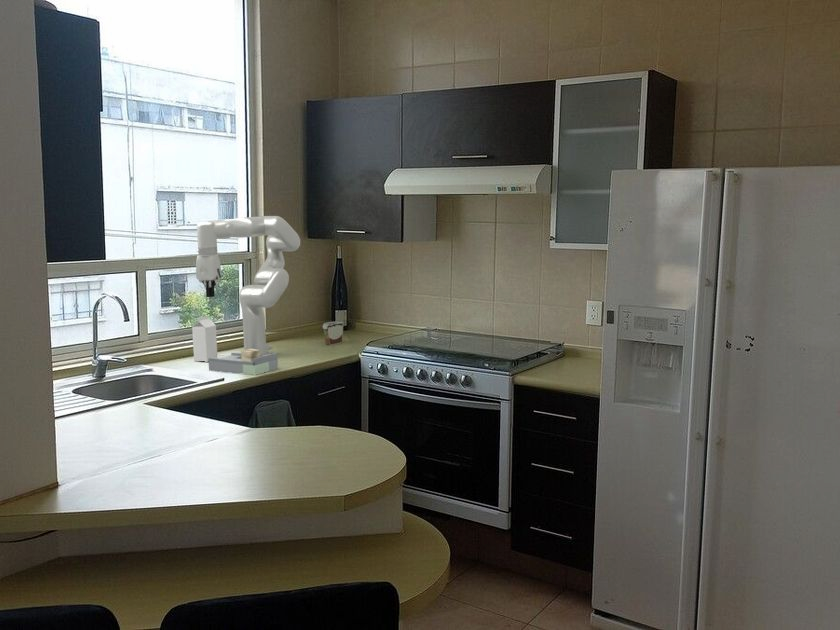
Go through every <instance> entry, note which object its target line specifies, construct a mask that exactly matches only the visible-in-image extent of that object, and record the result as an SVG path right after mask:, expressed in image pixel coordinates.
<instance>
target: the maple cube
mask: <svg viewBox="0 0 840 630" xmlns="http://www.w3.org/2000/svg"><path fill="white" fill-rule="evenodd" d="M240 353H241V358H242V361H246V362H253V359H254V358H258V357H260V350H256V349H247V350H244V349H243V350H241V351H240Z"/></svg>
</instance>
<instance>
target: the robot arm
mask: <svg viewBox="0 0 840 630" xmlns="http://www.w3.org/2000/svg"><path fill="white" fill-rule="evenodd" d="M196 224H197V225H196V232H197V234H196V235H197V236H196V237H197V248H198V249H197V250H196V252H197V253H198V255H197V256H196V262H195V278H196V279H197V280H198V282H199V283H201V284H202V285H204V288H205V296H206V298H214V297H216V296H215V287H216V286H217V284H219V283H221V278H222V268H221V260H220V256H219V255H218V239H219V240H228V239H231V238H238V239H239V238H240V239H241V238H244V239H245V238H253V237H261V236H262V237H264V236H267V237H266V240H265V245H266V251H267V257H266V259H265V261H264V262H263V264H262V265H261V267H260V268H259V270H257V272H256V273H255V276H254V278H253V281H254V284H248V285H247V284H246V285H244V286H243V287H242V288H241V289H240V291H239V293H238V300H239V302H240V307H241V308H240V309H241V313H242V314H241V315H242V332H243V333H242V334H243V350H247V349H256V350H260V355H269V354H271V353H270V352H269V350H272V349H273V348H274V347H273V345H272V344H267V337H266V335H267V334H266V316H265V313H264V310H263V308H264V309H265V308H268V309H269V308H271V307H274V305H276V303H278V301H279V300H280V298H281V296H282V295H283V293H284V292H285V290H286V289H287V287H288V285H289V281H290V276H289V273H288V272H287V270H286V269H284V268H285V264H286V263H285V258H284V255H283V252H295V251H297V250H298V249H299V248H300V246H301V237H300V236H299V234H298V233H297V232H296V230H294V228H293V227H292V226H291V225H290V223H288V222H287V221H286V220H285V219H284V218H283V217H281V216H279V215H263V216H250V217H249V216H248V217H246V216H245V217H238V218H229V219H217V220H215V219H214V220H208V221H199V222H197V223H196Z"/></svg>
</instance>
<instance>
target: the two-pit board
mask: <svg viewBox="0 0 840 630" xmlns="http://www.w3.org/2000/svg"><path fill="white" fill-rule="evenodd" d="M230 353H231V354H230V355H225V356H223V357H218V359H214V358H208V361H209V362H208V371H210V370H215V371H214V372H219V371H222V372H221V373H228V372H232V373H231V374H238V373H244V374H243V375H247V374H253V375H252V376H257V375H256V374H258V375H261V374H264V372H265V373H268V372H271V371H275V370H277V369H279V366H278V365H279V364H278V363H279V360H278V352H274V353H270V354H269V355H260V357H258V358H254V359H253V362H246V361H242V358H241V352H230ZM260 373H261V374H260Z"/></svg>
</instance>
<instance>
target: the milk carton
mask: <svg viewBox="0 0 840 630" xmlns="http://www.w3.org/2000/svg"><path fill="white" fill-rule="evenodd" d="M191 329H192V346H193V347H192V348H193V361H194V360H195V361H194V362H199V361H205V362H204V363H209V362H208V358H214V359H218V358H219V357H218V346H217V345H218V339H217V325H216V324H215V323H214V322H213V321H212V320H211V318H210V316H209V315H207V316H202V317H201V316H200V317H197V321H196V323H194V324H193V325H192V328H191Z"/></svg>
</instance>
